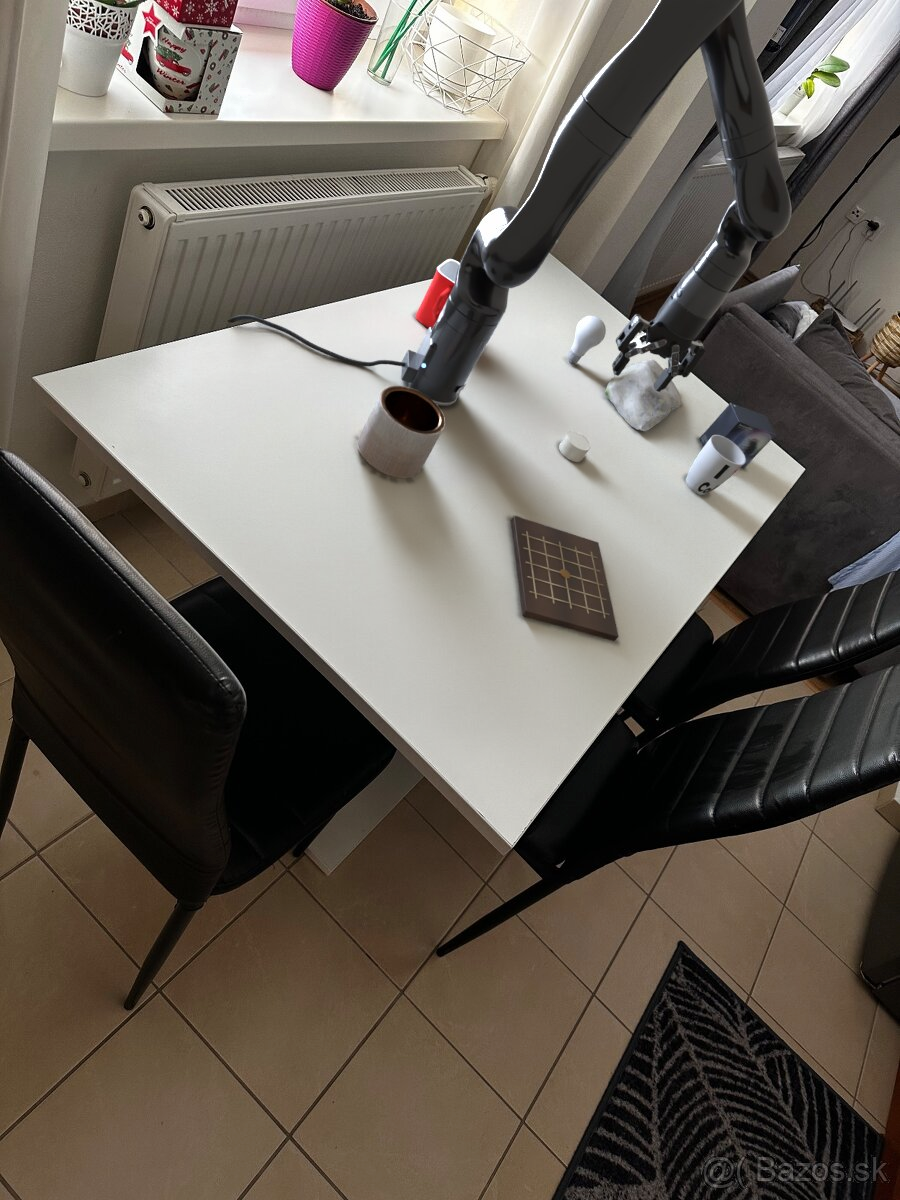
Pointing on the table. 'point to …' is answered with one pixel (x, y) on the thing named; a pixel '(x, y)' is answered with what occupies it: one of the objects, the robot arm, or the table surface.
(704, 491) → the cup
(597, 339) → the lightbulb
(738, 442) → the small box
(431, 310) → the mug
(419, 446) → the planter
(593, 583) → the board
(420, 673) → the table surface
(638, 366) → the stone
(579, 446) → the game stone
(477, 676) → the table surface
